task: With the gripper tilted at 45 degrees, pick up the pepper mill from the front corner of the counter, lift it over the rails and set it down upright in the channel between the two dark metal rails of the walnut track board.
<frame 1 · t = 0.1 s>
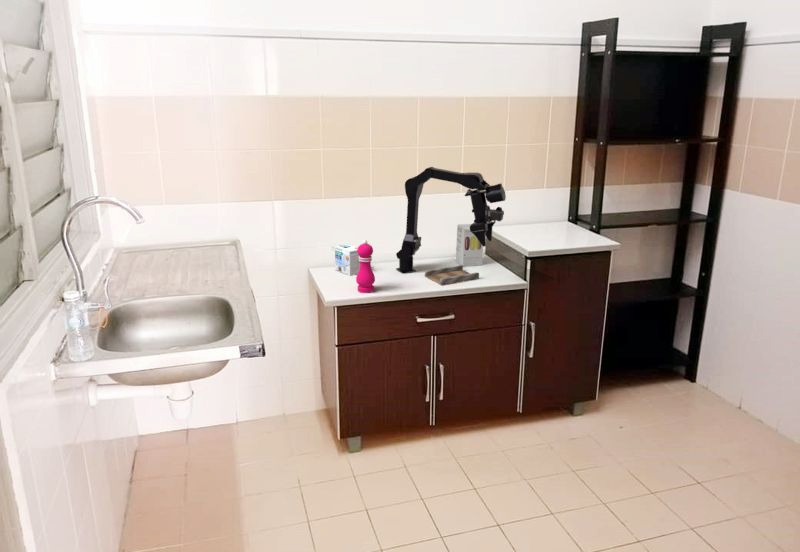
hand: (487, 243, 247), 15 cm above the table, tool pointing down, fingers open, 9 cm apart
pepper mill: (365, 290, 240), on the table
track board: (451, 277, 255), on the table
light bulb box: (348, 272, 263), on the table
supplement box: (468, 263, 275), on the table
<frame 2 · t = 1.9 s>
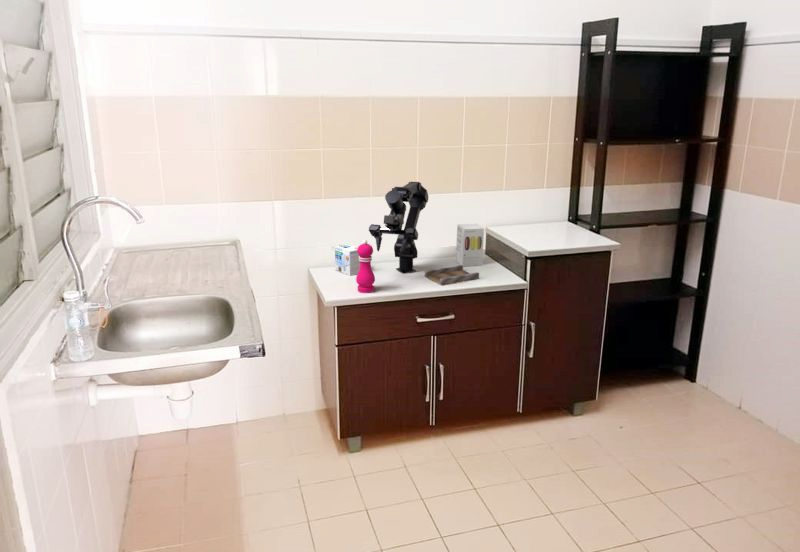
hand: (389, 251, 239), 14 cm above the table, tool tilted 40°, fingers open, 9 cm apart
nothing on the table moved.
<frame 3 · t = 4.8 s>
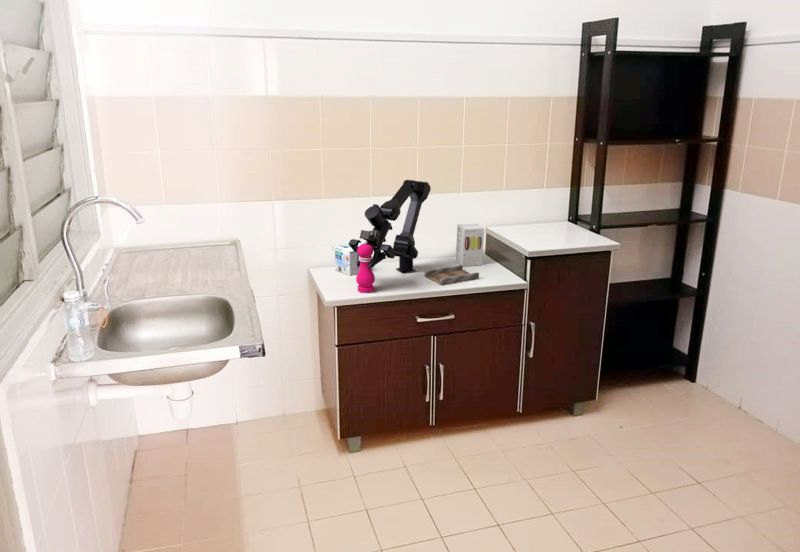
hand: (363, 267, 236), 10 cm above the table, tool tilted 45°, fingers closed on pepper mill, 5 cm apart
pepper mill: (365, 290, 240), on the table, touching gripper
everything else where it was.
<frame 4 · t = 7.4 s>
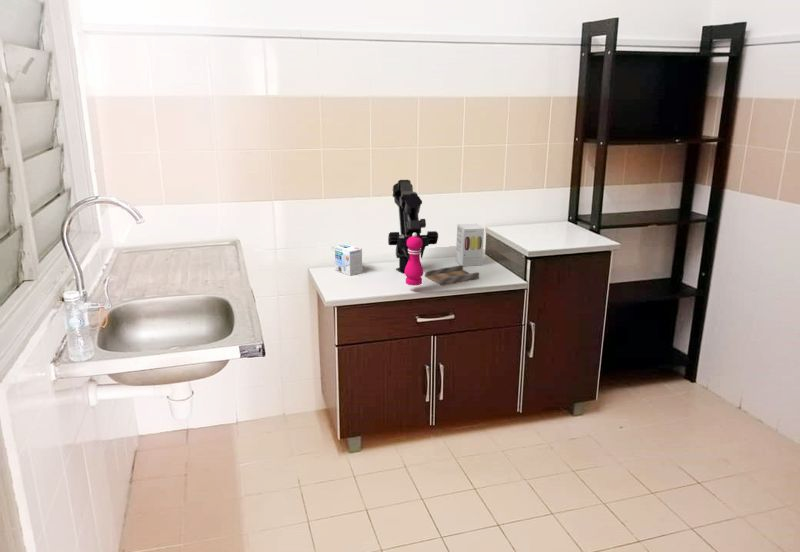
hand: (414, 257, 234), 14 cm above the table, tool tilted 45°, fingers closed on pepper mill, 5 cm apart
pepper mill: (413, 283, 239), point 3 cm above the table, touching gripper
everything else where it was.
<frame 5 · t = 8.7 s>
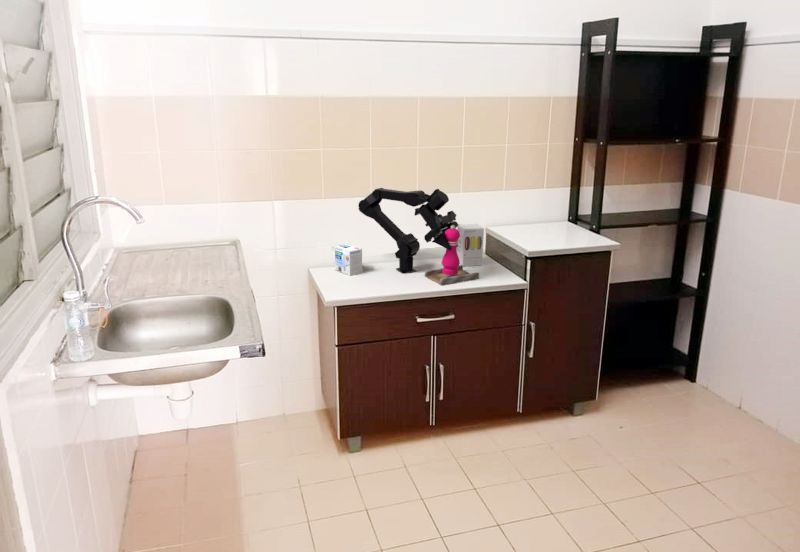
hand: (454, 248, 248), 13 cm above the table, tool tilted 45°, fingers closed on pepper mill, 5 cm apart
pepper mill: (450, 273, 252), point 3 cm above the table, touching gripper
everything else where it was.
when the fingers open (11 cm above the table, at t = 9.9 s): pepper mill stays where it is, resting on track board.
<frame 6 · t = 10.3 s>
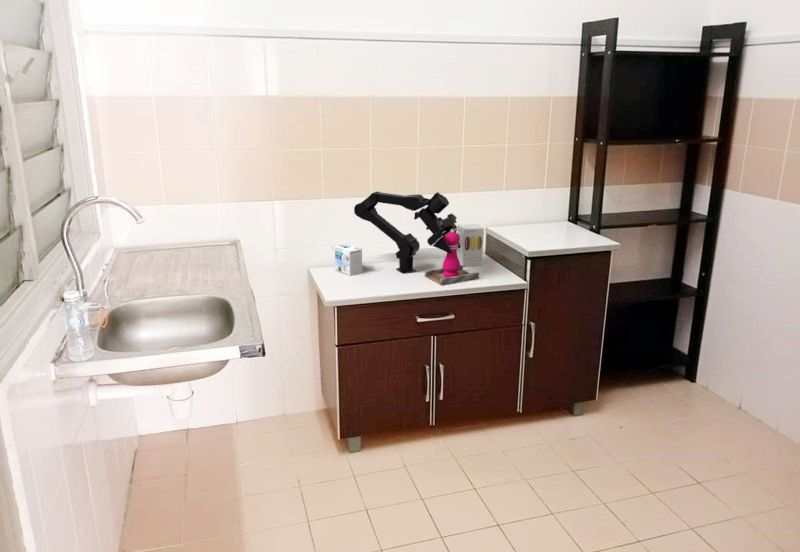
hand: (455, 250, 251), 12 cm above the table, tool tilted 45°, fingers open, 9 cm apart
pepper mill: (451, 276, 255), resting on track board
everything else where it was.
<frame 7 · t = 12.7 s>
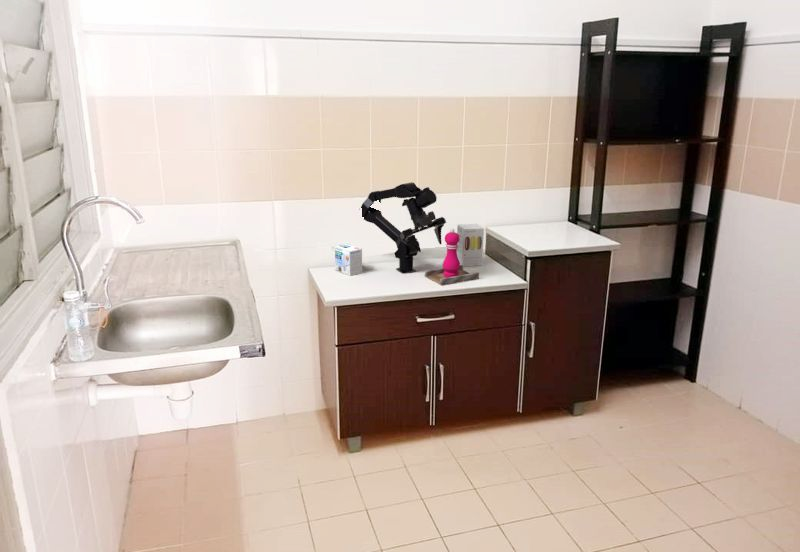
hand: (430, 247, 252), 12 cm above the table, tool tilted 30°, fingers open, 9 cm apart
nothing on the table moved.
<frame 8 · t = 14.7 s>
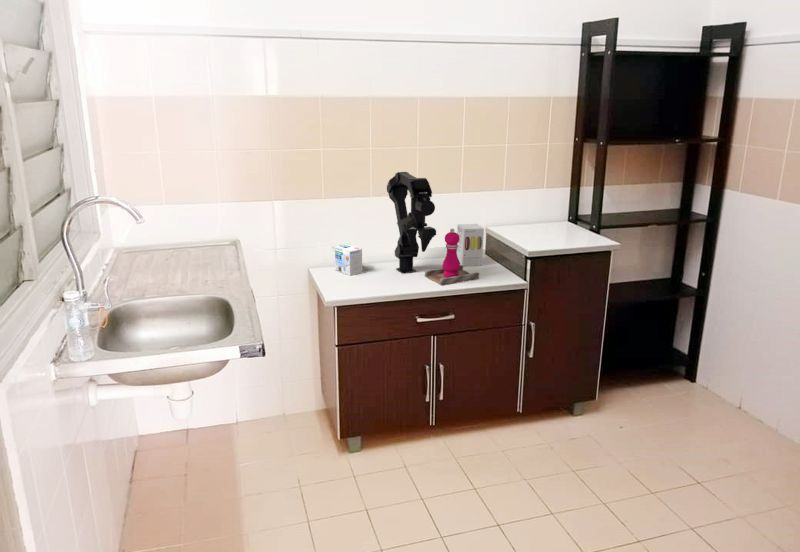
hand: (417, 248, 248), 13 cm above the table, tool pointing down, fingers open, 9 cm apart
nothing on the table moved.
at the end: pepper mill inside the target area on the track board (0.3 cm from its centre), point 0.4 cm above the track board's base; pepper mill tilted 0°; the gripper is holding nothing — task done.
